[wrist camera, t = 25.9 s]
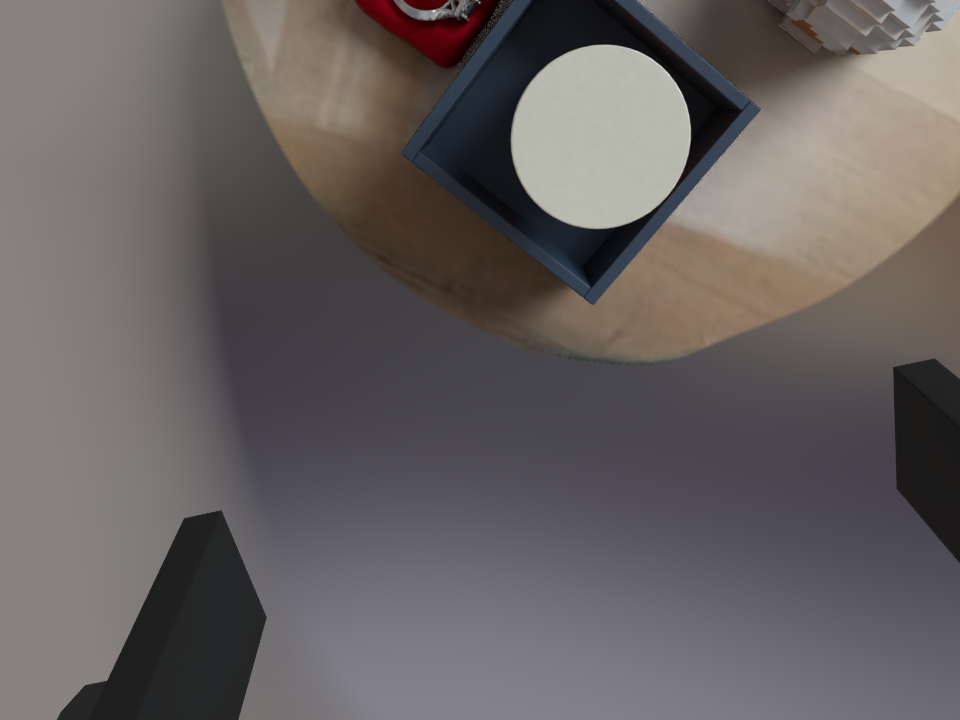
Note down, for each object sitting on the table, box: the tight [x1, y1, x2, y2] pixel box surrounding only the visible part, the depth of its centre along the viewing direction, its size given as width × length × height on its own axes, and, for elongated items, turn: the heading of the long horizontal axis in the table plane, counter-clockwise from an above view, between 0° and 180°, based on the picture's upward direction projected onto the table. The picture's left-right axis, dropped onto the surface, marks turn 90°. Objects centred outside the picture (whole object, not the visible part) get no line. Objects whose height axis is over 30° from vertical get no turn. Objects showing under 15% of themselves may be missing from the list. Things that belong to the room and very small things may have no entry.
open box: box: [401, 0, 760, 305], centre depth 41 cm, size 11×11×6 cm
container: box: [511, 45, 691, 229], centre depth 38 cm, size 7×7×11 cm
